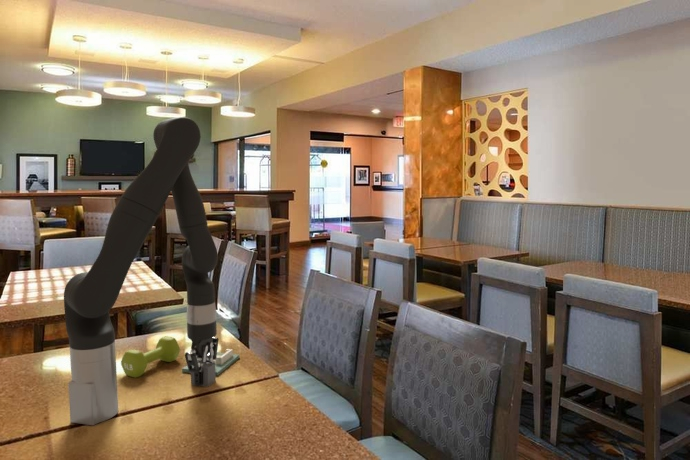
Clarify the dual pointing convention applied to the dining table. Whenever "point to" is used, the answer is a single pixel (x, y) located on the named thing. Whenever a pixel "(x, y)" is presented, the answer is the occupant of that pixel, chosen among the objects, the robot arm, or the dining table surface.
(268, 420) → the dining table surface
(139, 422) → the dining table surface
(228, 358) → the board
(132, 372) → the dumbbell
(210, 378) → the plug
